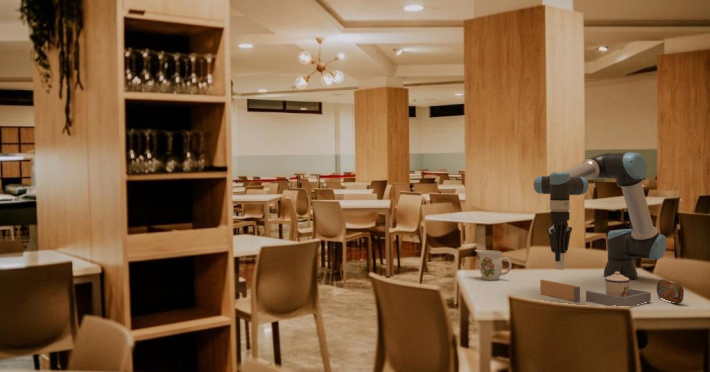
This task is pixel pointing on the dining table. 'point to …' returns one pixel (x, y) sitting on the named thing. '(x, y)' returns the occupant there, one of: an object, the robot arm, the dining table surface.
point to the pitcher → (492, 264)
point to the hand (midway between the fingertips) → (559, 269)
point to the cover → (557, 289)
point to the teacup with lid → (617, 285)
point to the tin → (670, 291)
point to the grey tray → (615, 297)
